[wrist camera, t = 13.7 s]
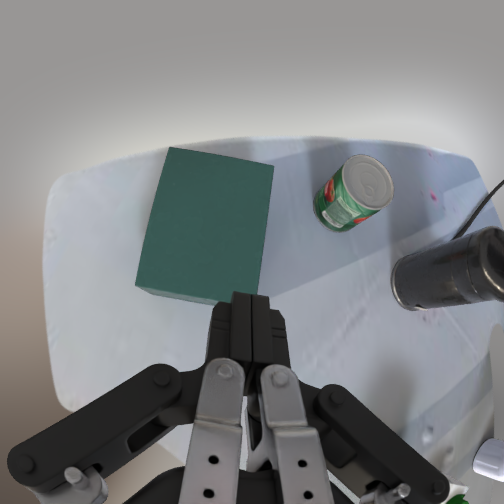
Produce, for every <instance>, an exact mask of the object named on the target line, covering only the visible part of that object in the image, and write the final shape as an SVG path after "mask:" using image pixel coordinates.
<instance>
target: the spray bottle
mask: <svg viewBox="0 0 504 504" xmlns="http://www.w3.org/2000/svg"><path fill="white" fill-rule="evenodd" d="M473 469H474V471H475V472H477V473H479V474H482V475H485V476H487V477H490V478H493V479H496V480H499V481H503V482H504V441H502V440H498V439H494V438H491V439H488V440H487V441H485V442H484V443H483V445H482V446H481V447H480V449H479V450H478V452H477V454H476V456H475V459H474V462H473Z"/></svg>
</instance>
